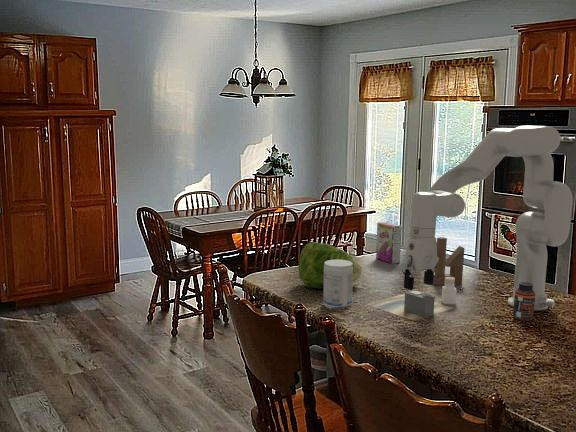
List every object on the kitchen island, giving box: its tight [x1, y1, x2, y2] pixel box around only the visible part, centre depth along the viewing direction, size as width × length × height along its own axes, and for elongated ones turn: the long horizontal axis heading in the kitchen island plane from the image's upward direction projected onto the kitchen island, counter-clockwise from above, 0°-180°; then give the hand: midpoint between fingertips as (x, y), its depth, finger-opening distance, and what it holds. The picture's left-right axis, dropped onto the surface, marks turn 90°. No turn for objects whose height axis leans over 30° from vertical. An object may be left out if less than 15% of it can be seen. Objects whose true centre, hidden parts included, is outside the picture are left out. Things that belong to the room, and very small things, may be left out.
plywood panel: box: [365, 293, 455, 322], centre depth 189 cm, size 20×20×1 cm
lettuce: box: [298, 241, 363, 289], centre depth 213 cm, size 17×23×16 cm
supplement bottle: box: [512, 282, 535, 322], centre depth 181 cm, size 6×6×11 cm
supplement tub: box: [322, 259, 354, 309], centre depth 190 cm, size 10×10×15 cm
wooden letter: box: [433, 236, 465, 287], centre depth 218 cm, size 4×11×18 cm, turn 106°
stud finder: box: [404, 289, 436, 319], centre depth 182 cm, size 8×4×6 cm, turn 40°
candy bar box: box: [375, 221, 403, 265], centre depth 254 cm, size 11×5×16 cm, turn 30°
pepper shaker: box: [440, 277, 457, 305], centre depth 193 cm, size 4×4×10 cm
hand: (418, 286), depth 181 cm, fingers open, 9 cm apart
